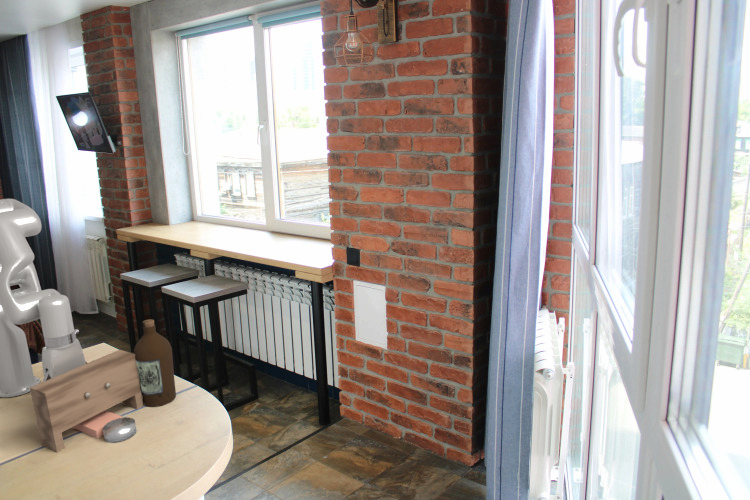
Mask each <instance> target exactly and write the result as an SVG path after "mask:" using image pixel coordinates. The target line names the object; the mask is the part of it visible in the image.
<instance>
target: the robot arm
mask: <svg viewBox="0 0 750 500" xmlns="http://www.w3.org/2000/svg"><path fill="white" fill-rule="evenodd" d="M41 231H42V221H41V218H40V217H39V215H38V213H36V211H35V210H34V209H33V208H32V207H30V206H28V205H27V204H25V203H23V202H21V201H19V200H18V199H15V198H3V199H0V398H12V397H18V396H21V395H24V394H27V393H31V390H30V387H33V386H35V385H37V384H40V383H42V382H44V381H47V380H49V379H51V378H54V377H56V376H59V375H61V374H63V373H66V372H68V371H70V370H73V369H75V368H77V367H80V366H82V365H85V364H87V363H88V362H87V361H86V357H85V354H84V352H83V351H84V350H83V348H82V346H81V343H80V341H79V339H78V338H77V335H78V334H79V333H80V331H79V329H78V328H76V329H75V327H74V321H73V316H72V309H71V303H70V299H69V297H68V296H67V295H64V294H61V293H60V292H59V291H58V290H56V289H54V288H47V289H43V290H42V287H41V285H40V280H39V277H38V273H37V270H36V267H35V264H34V260H35V254H34V252H33V250H32V248H31V247H30V244H29V243H28V241H27V238H29V237H33V236H36V235H39V234H40V233H41ZM26 237H27V238H26ZM16 285H18V286H19V288H17V289H11V287H12V286H16ZM37 320H39V321H40V324H41V329H42V331H41V332H42V336H43V339H44V340H43V341H44V345H45V346H43V347H42V348H41V349H42V350H41V351H42V352H41V364H42V365H41V366H42V373H43V380H42V381H41V379H40V377H38V376H35V375H34V371H33V366H32V362H31V361H32V360H31V355H30V351H29V346H28V340H27V336H26V333H25V331H24V330H23V329H22V328H21V327H19V326H17V325H23V324H27V323H31V322H33V321H37Z"/></svg>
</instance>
